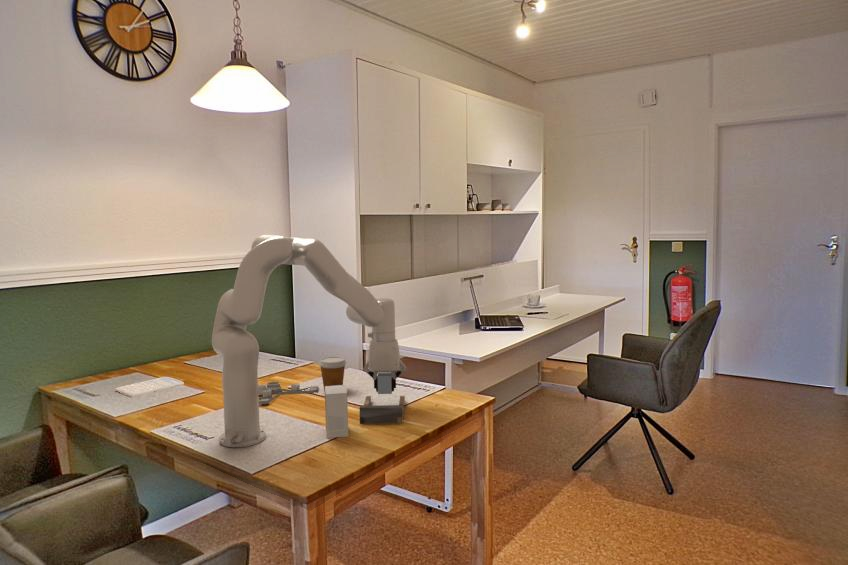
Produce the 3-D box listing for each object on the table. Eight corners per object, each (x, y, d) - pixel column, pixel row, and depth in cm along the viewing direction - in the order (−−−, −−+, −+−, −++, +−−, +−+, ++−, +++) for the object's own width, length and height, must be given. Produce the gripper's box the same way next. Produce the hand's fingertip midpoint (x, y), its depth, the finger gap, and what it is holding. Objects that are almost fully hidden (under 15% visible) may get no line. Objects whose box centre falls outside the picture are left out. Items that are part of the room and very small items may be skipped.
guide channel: (402, 423, 178) (402, 407, 177) (359, 423, 178) (359, 407, 177) (404, 401, 199) (404, 387, 198) (366, 401, 199) (366, 387, 198)
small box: (325, 428, 174) (324, 385, 173) (346, 426, 175) (345, 384, 174) (326, 438, 166) (325, 394, 165) (348, 436, 167) (347, 392, 166)
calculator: (114, 392, 213) (114, 387, 213) (167, 379, 228) (166, 375, 228) (131, 399, 205) (131, 393, 204) (185, 386, 220) (185, 381, 220)
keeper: (391, 393, 191) (391, 376, 190) (377, 394, 191) (377, 376, 190) (392, 389, 195) (391, 372, 195) (378, 389, 195) (378, 372, 195)
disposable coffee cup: (350, 389, 213) (350, 357, 211) (340, 397, 204) (339, 363, 202) (326, 387, 215) (326, 355, 214) (315, 395, 206) (314, 361, 205)
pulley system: (234, 401, 203) (256, 409, 192) (234, 388, 202) (256, 395, 192) (301, 387, 222) (324, 393, 212) (300, 375, 222) (324, 380, 211)
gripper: (356, 339, 187) (358, 394, 189) (409, 338, 187) (410, 393, 189) (359, 334, 195) (360, 387, 197) (409, 333, 195) (410, 386, 197)
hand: (385, 389), depth 193 cm, fingers closed on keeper, 4 cm apart
